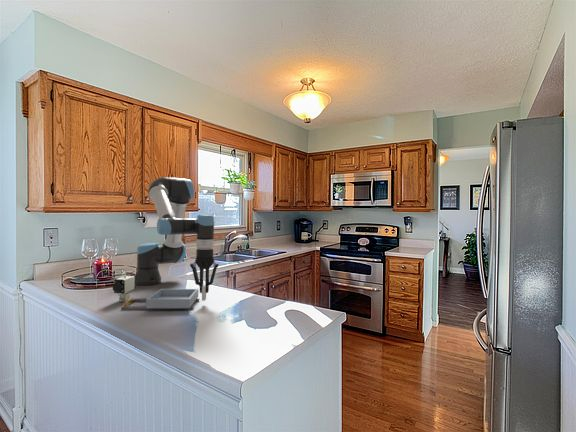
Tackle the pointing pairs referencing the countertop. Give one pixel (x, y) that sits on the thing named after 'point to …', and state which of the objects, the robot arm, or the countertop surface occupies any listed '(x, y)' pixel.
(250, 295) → the countertop surface
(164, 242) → the robot arm
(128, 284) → the pneumatic valve
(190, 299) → the shallow square tray
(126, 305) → the rails
